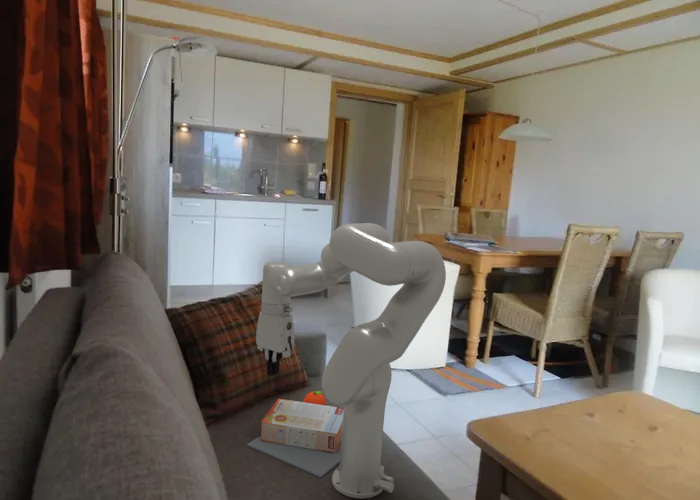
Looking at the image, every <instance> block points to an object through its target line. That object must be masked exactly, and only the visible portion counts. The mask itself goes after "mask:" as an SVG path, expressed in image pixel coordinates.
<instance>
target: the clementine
mask: <svg viewBox="0 0 700 500" xmlns="http://www.w3.org/2000/svg"><path fill="white" fill-rule="evenodd" d="M302 402H305V403H312V404H318V405H325V406H327V399H326V397H325V396H324V394H323V391H321V390H319V391H317V390H316V391H310V392H308V393H307V394H306V395H305V397H304V398H303V401H302Z"/></svg>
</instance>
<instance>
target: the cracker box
mask: <svg viewBox="0 0 700 500" xmlns="http://www.w3.org/2000/svg"><path fill="white" fill-rule="evenodd" d="M343 411H344V407H340V406H332V405H326V406H325V405H318V404H312V403H305V402H303V401H297V400H292V399H290V400H289V399H285V398H284V399H282V398H278V399H277V400H276V401H275V402H274V404H273V406H272V407H270V409H269V411H268V412H267V413H266V415H265V416H264V417H263V418H262V420H261V421H260V423H261V424H260V436H261V441H266V442H272V443H278V444H284V445H290V446H297V447H303V448H309V449H315V450H321V451H327V452H333V453H336V451H337V449H338V446H339V444H340V441H341V437H342V422H343Z"/></svg>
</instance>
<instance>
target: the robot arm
mask: <svg viewBox="0 0 700 500" xmlns="http://www.w3.org/2000/svg"><path fill="white" fill-rule="evenodd" d="M320 259H321V260H318V262H315V263H311V264H301V265H295V266H291V264H290V263H288V262H285V261H269V262H266V263H264V265H263V268H262V288H261V289H262V292H261V309H260V310H261V311H259V314H258V318H257V319H258V320H257V325H256V332H255V333H256V334H255V337H256V338H255V340H256V342H255V343H256V345H257V346H256V347H257V349H258V350H259V351H260V352H262V354H263V355H264V357H265V360H266V375H267V376H270V377H274V376H275V375H278V374H279V373H280V361H282V359H283V358H284V359H285V358H290V357H291V356H292V353H291V350H293V349H294V348H295V325H294V318H293V314H292V312H293V307H292V306H291V298H292V297H293V298H294V297H298V296H304V295H310V294H314V293H315V294H316V293H318V292H322V291H324V290H327V289H329V288H330V287H333V286H334V285H337V284H338V283H340V282H342V280H343V279H344V278H345V277H346V276H349V275H350V274H351V273H354V272H355V273H357V274H358V275H360V276H363V277H365V278H367V279H369V280H371V281H372V282H374V283H377V284H380V285H382V286H387V287H388V286H389V287H391V286H399V285H402V286H401V287H400V288H399V289H398V290H397V291H396V292H395V293H394V294H393V295H392V297H391V298H390V300H389V301H388V302H387V305H386V307H385V308H384V310H383V311H381V314H380V315H379V316H378V317H377V318H375V319H372V320H371V321H369V322H368V321H367V322H366V323H362V324H358V325H356V326H354V327H352V328H351V329H350V330H349V331H347V333H345V335H344V336H343V337H342V338H341V340H340V342H339V344H338V345H337V347H336V349H335V350H334V352H333V354H332V356H331V357H330V359H329V361H328V362H327V364H326V366H325V368H324V370H323V373H322V375H321V389H322V392H323V393H322V395H323V396H324V397H325V399H326V401H328V402H329V404H332V405H334V406H335V407H343V408H344V411H343V422H342V437H341V451H340V463H339V467H337V468H336V469H335V470H334V471H333V472H332V475H331V485H333V487H334V489H335V490H336V491H337V492H338V493H340V494H342V495H344V496H346V497H348V498H353V499H358V500H359V499H363V500H364V499H371V498H373V497H377V496H378V495H380V494H381V493H382V492H383V491H385V492H388V493H393V491H394V488H395V484H394V480H395V479H394V477H391V476H389V475H387V474H385V466H384V465H382V464H381V460H382V448H383V446H382V445H383V438H384V437H383V436H384V435H383V433H384V425H385V412H386V411H385V410H386V403H387V399H388V395H389V391H390V387H391V384H392V383H391V382H392V374H393V373H392V367H391V363H393V362H394V361H397V360H399V359H400V358H402V356H403V355H404V354H405V352H406V350H407V349H408V347H409V346H410V345H411V343H412V341H413V340H414V339H415V337H416V335H417V334H418V332H419V331H420V329H421V328H422V326H423V324H424V323H425V321H426V320H427V318H428V317H429V316H430V314H431V313H432V311H433V310H434V309H435V306H436V305H437V304H438V302H439V300H440V298H441V296H442V294H443V293H444V292H443V291H444V289H445V285H446V279H447V274H446V273H447V272H446V265H445V261H444V259H443V257H442V255H441V253H440V252H439V250H438V249H437V247H435V246H434V245H432V244H430V243H429V242H425V241H422V240H421V241H420V240H407V241H406V240H405V241H399V242H398V241H396V242H391V239H390V235H389V233H388V232H387V230H386V229H385V228H384V227H383V226H381V225H380V224H376V223H372V222H362V223H345V224H342V225H340V226H338V227H337V228H336V229H335V230H333V232H332V234H331V236H330V239H329V243H328V244H326V245H325V246H324V247H323V248H322V250H321V254H320Z"/></svg>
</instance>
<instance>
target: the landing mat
mask: <svg viewBox="0 0 700 500" xmlns="http://www.w3.org/2000/svg"><path fill="white" fill-rule="evenodd" d="M246 446H247V447H249V448H250V449H252V450H255V451H258V452H259V453H263V454H264V455H267V456H269V457H270V458H271V457H272V458H274V459H275V460H278V461H279V462H280V461H281V462H282V463H284V464H288V465H289V466H291V467H294V468H296V469H298V470H300V471H303V472H305V473H308V474H310V475H312V476H314V477H317V478H318V479H322V478H323V477H324V476H326V475H327V474H328V473H329V472H331V471H332V470H333V469H334V468H335V467H336V466H338V464H339V465H340V451H341V441H340V444H339V446H338V449H337V451H336V453H333V452H327V451H321V450H315V449H309V448H303V447H297V446H290V445H284V444H278V443H272V442H266V441H261V435H260V436H258V437H256V438H255V439H253V440H251V441H250V442H249V443H248V442H247V444H246Z"/></svg>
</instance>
